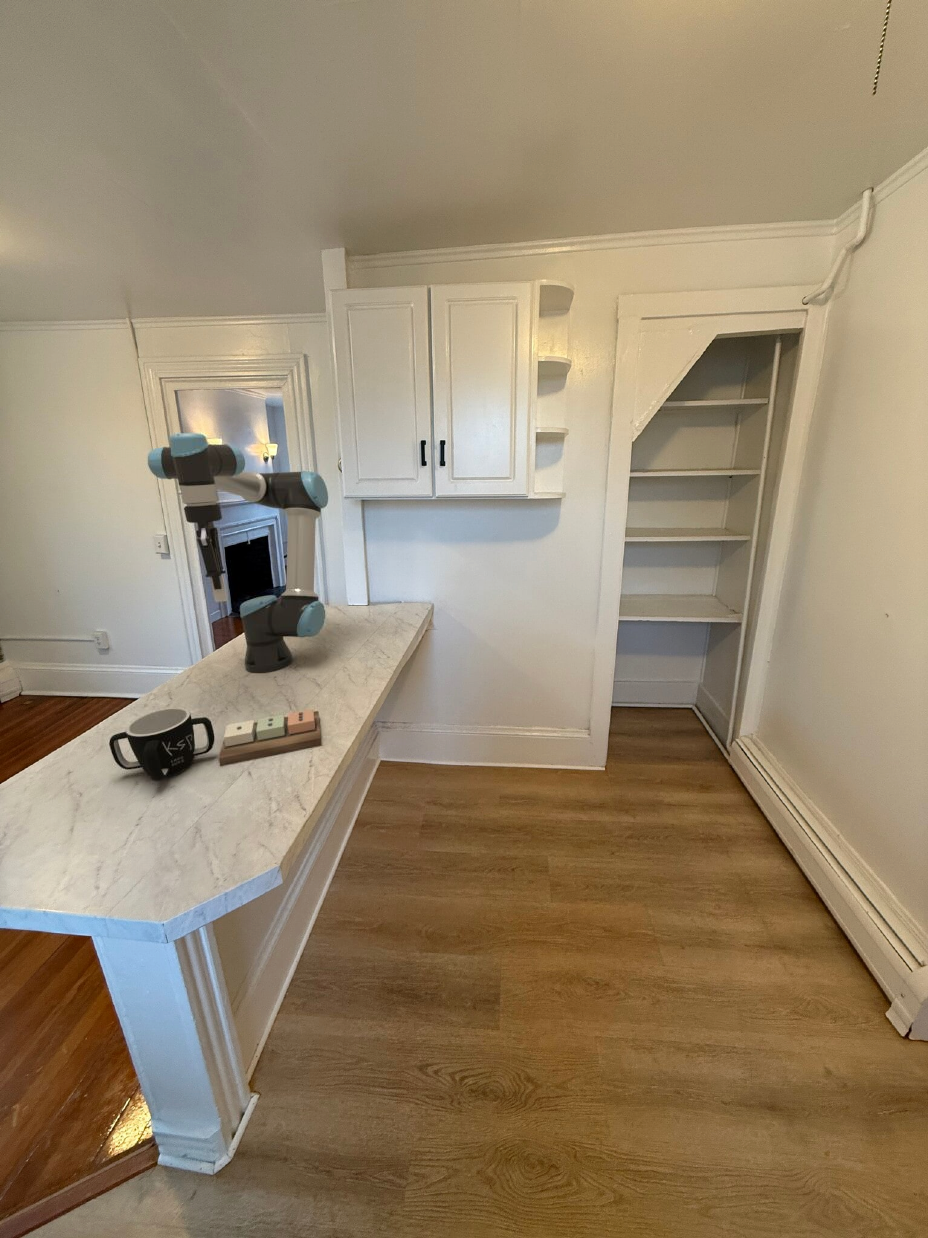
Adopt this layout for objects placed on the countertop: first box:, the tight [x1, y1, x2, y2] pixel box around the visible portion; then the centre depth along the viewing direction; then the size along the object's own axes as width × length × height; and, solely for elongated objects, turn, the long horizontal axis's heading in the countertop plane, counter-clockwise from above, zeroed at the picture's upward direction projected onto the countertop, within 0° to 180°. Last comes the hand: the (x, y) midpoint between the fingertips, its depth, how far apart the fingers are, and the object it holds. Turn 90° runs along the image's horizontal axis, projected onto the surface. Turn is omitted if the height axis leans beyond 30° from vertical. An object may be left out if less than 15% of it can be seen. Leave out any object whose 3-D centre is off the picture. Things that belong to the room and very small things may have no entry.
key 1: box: [223, 719, 256, 746], centre depth 113 cm, size 6×6×3 cm
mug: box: [109, 707, 215, 782], centre depth 105 cm, size 16×16×12 cm
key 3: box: [287, 708, 315, 734], centre depth 117 cm, size 6×6×3 cm
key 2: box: [256, 714, 286, 740], centre depth 115 cm, size 6×6×3 cm
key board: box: [218, 710, 322, 767], centre depth 116 cm, size 14×22×2 cm, turn 108°
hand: (221, 600), depth 118 cm, fingers closed
